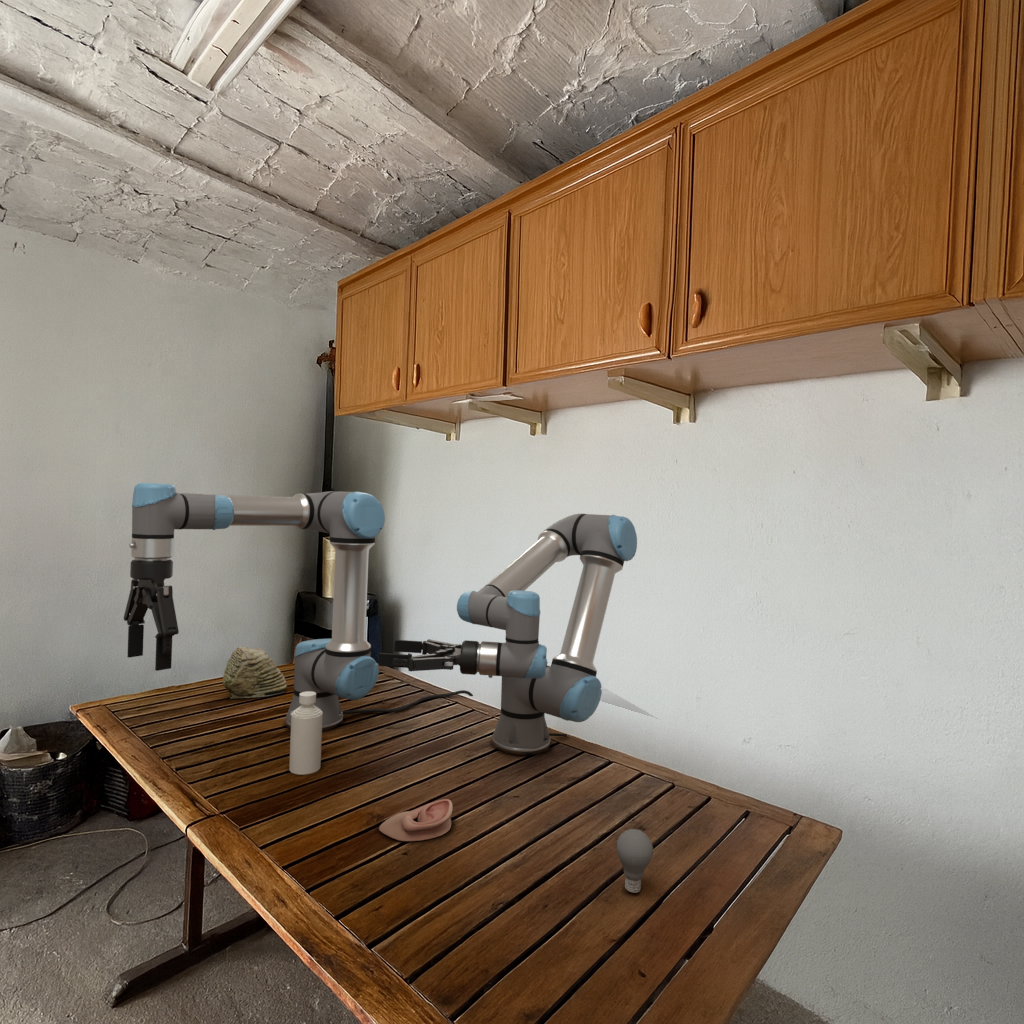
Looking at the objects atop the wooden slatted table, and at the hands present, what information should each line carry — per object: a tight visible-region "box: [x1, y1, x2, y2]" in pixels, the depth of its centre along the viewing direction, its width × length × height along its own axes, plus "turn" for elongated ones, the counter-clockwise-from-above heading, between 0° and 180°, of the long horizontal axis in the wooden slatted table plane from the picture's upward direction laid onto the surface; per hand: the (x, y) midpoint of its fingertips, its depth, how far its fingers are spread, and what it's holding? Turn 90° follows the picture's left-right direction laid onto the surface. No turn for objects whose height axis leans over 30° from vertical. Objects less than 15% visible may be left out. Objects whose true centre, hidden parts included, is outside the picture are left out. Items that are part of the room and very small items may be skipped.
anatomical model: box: [378, 798, 454, 842], centre depth 123 cm, size 13×4×12 cm
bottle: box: [288, 704, 323, 776], centre depth 147 cm, size 7×7×17 cm
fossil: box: [222, 646, 288, 699], centre depth 198 cm, size 9×18×15 cm, turn 132°
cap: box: [299, 691, 316, 704], centre depth 147 cm, size 4×4×2 cm
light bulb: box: [615, 828, 654, 894], centre depth 106 cm, size 6×6×10 cm
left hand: (148, 662), depth 129 cm, fingers open, 13 cm apart
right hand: (387, 652), depth 146 cm, fingers open, 13 cm apart
